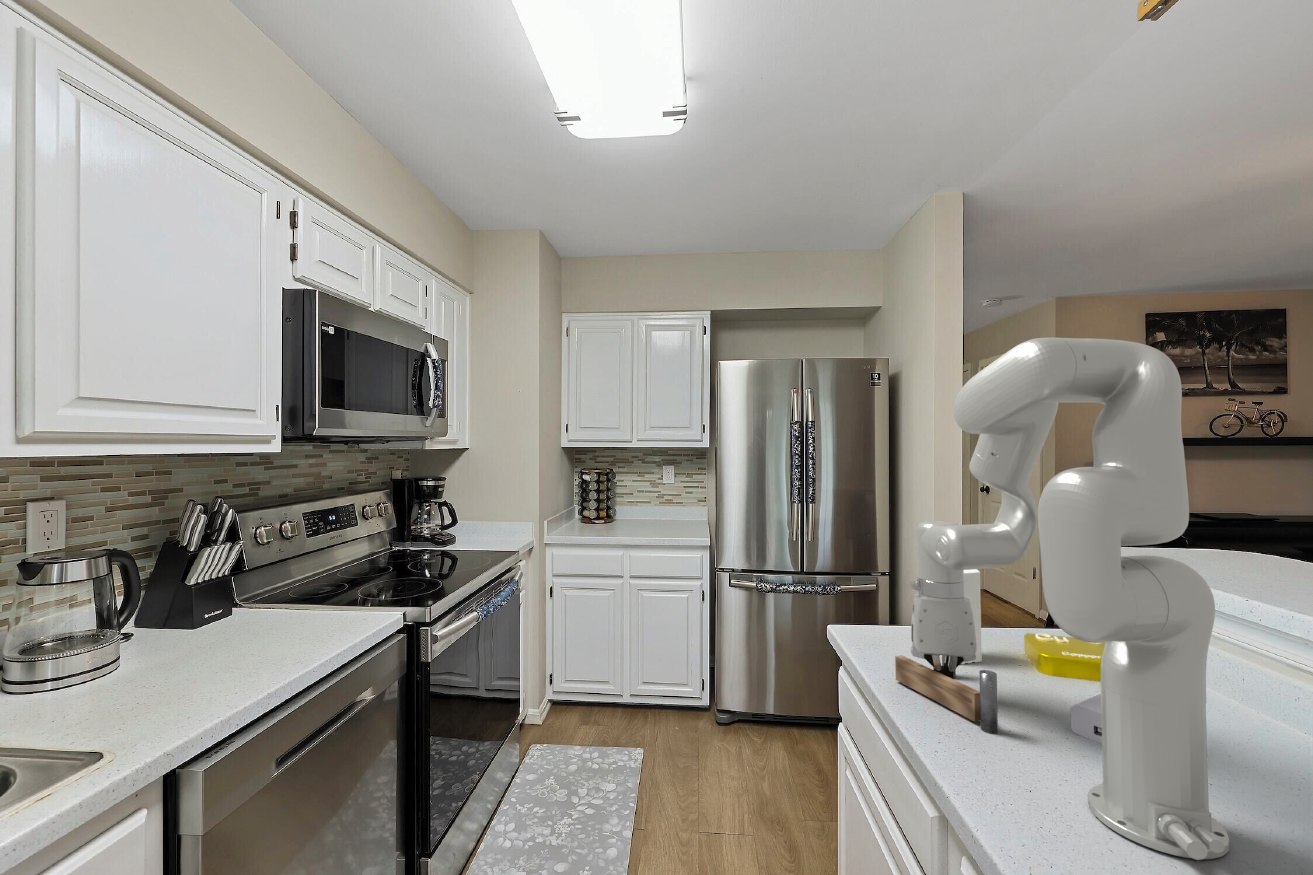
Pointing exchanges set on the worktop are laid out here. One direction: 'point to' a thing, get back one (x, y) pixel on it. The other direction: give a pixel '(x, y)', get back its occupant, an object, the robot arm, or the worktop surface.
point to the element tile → (1064, 656)
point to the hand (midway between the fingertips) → (943, 690)
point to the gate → (939, 687)
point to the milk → (974, 606)
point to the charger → (1088, 718)
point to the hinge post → (988, 701)
